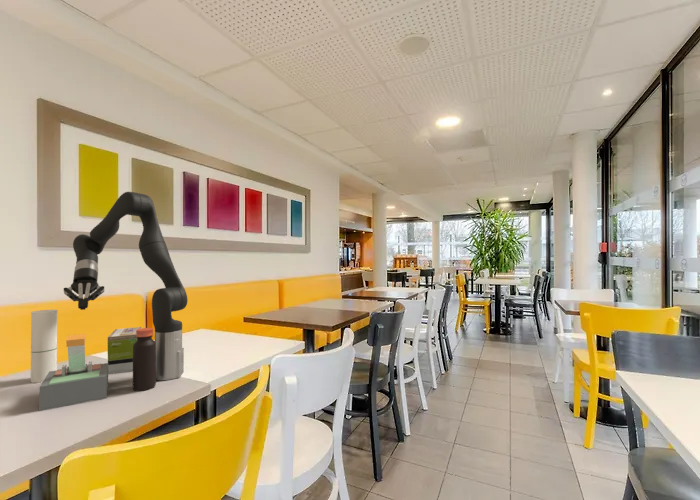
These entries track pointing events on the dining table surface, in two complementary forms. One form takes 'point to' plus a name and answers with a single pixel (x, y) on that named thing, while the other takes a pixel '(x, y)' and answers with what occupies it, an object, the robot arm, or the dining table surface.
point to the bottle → (144, 360)
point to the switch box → (73, 386)
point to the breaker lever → (76, 354)
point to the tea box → (121, 350)
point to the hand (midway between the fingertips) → (82, 308)
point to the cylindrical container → (43, 344)
